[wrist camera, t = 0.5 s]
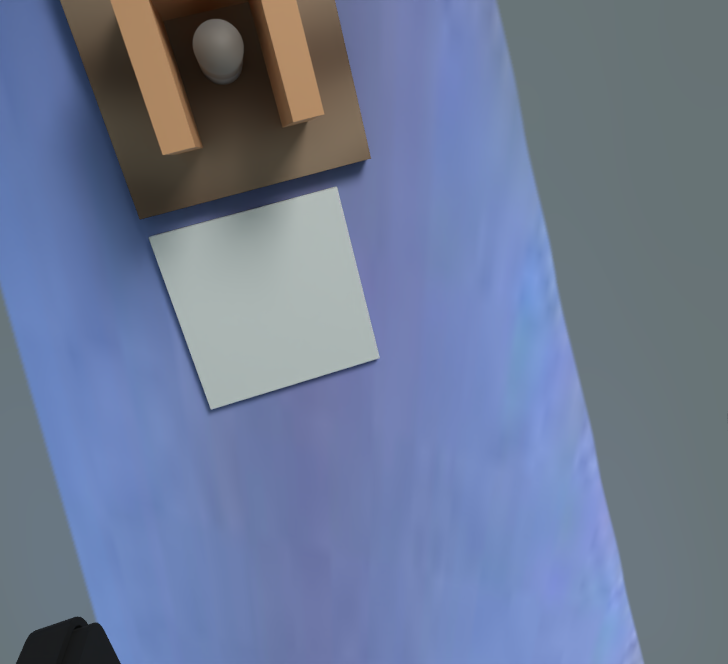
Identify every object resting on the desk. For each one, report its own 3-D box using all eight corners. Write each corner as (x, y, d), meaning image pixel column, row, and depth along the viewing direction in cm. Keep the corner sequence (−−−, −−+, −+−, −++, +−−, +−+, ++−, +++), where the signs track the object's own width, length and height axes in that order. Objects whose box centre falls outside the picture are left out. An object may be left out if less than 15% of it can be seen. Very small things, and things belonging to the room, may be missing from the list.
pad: (149, 236, 31) (148, 237, 31) (335, 186, 32) (336, 187, 32) (211, 406, 34) (211, 409, 34) (378, 355, 35) (379, 358, 35)
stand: (47, -47, 27) (1, -95, 22) (307, -101, 28) (323, -158, 23) (142, 217, 31) (123, 230, 25) (367, 158, 32) (392, 159, 27)
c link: (124, -4, 27) (94, -46, 21) (267, -36, 28) (275, -83, 22) (176, 154, 29) (162, 155, 24) (307, 121, 30) (324, 114, 24)
